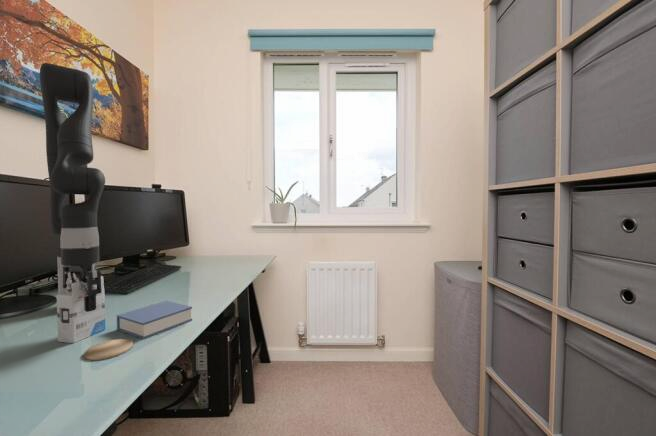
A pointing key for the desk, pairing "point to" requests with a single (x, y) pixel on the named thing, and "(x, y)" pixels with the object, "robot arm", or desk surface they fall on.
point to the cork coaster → (108, 349)
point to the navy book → (153, 319)
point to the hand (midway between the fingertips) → (82, 308)
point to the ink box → (79, 315)
